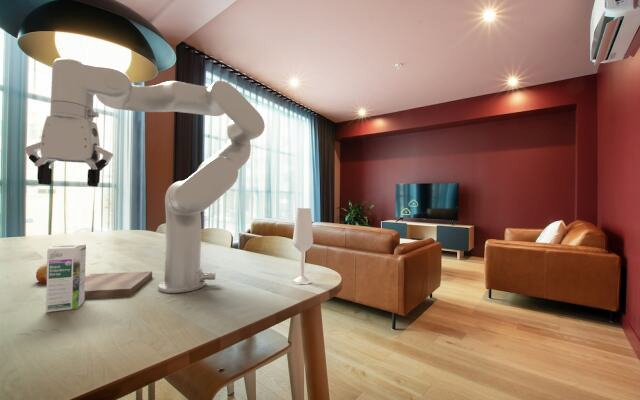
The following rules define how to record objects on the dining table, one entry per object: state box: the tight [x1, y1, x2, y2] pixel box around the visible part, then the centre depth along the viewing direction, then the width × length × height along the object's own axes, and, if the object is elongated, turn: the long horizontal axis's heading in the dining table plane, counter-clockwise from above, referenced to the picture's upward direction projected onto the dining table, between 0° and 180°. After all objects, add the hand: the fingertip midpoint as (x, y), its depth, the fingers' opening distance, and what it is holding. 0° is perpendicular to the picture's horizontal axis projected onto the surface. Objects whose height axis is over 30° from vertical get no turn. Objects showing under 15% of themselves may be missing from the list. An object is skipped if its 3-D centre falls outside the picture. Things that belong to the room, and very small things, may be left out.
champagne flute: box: [292, 207, 314, 282], centre depth 89 cm, size 7×7×24 cm
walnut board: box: [84, 271, 153, 300], centre depth 79 cm, size 17×18×2 cm
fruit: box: [35, 262, 47, 285], centre depth 86 cm, size 11×10×8 cm
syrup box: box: [45, 243, 87, 313], centre depth 65 cm, size 6×6×14 cm
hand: (69, 185), depth 66 cm, fingers open, 9 cm apart
